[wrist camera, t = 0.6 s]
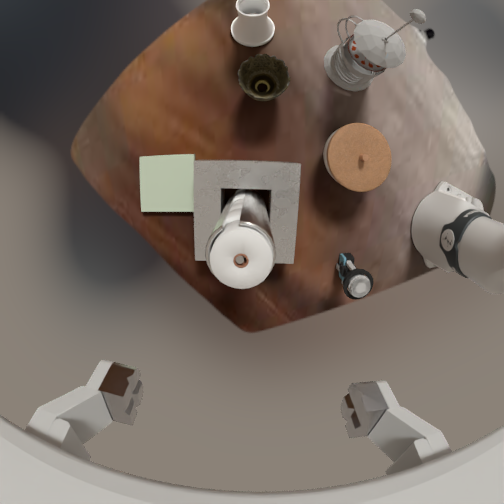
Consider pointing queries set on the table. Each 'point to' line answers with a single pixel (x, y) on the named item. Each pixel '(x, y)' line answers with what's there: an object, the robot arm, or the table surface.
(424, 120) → the table surface
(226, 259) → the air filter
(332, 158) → the lidded jar
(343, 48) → the french press
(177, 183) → the pad
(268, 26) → the vase
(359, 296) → the push button
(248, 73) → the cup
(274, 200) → the bore block
